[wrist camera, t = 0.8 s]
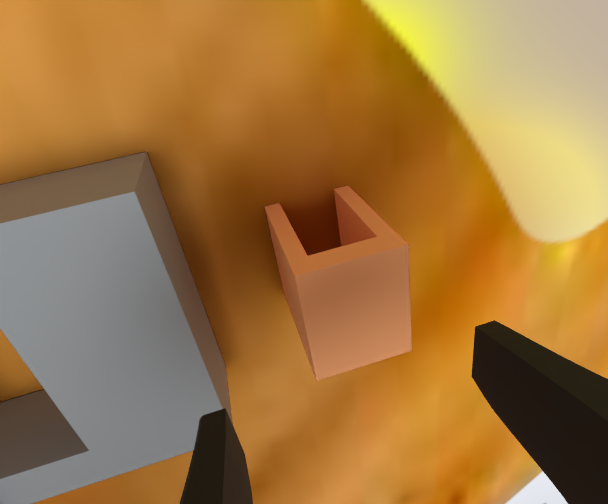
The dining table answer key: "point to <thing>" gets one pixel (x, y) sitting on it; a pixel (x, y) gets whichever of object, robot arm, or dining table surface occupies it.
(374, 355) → the open-top orange sleeve
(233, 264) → the dining table surface
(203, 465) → the robot arm
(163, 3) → the dining table surface
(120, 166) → the thick gray rectangular frame
